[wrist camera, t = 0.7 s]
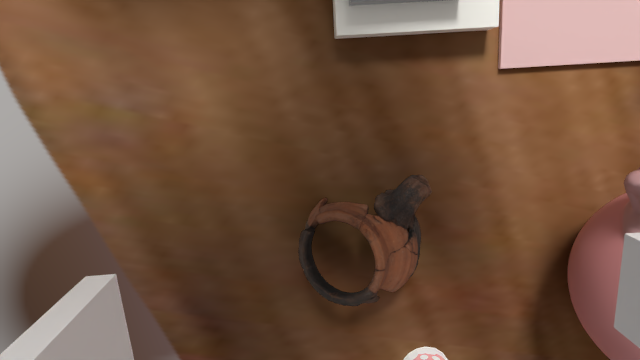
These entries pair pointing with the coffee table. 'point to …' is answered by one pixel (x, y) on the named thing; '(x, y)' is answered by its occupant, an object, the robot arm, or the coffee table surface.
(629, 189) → the balloon
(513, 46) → the felt mat
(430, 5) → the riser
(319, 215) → the pottery mug
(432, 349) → the beverage cup
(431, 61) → the coffee table surface
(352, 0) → the coaster
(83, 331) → the robot arm
